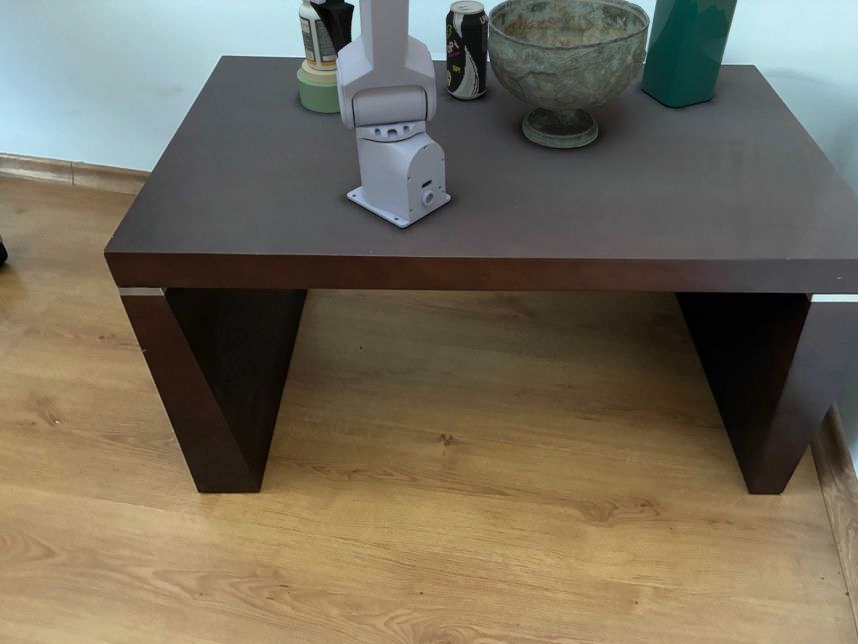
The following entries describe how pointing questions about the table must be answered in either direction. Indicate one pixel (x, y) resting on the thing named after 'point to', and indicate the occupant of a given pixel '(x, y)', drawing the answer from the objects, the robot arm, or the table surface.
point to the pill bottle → (316, 39)
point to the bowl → (566, 61)
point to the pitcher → (686, 49)
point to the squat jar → (318, 89)
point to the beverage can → (466, 49)
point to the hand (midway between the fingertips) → (368, 49)
